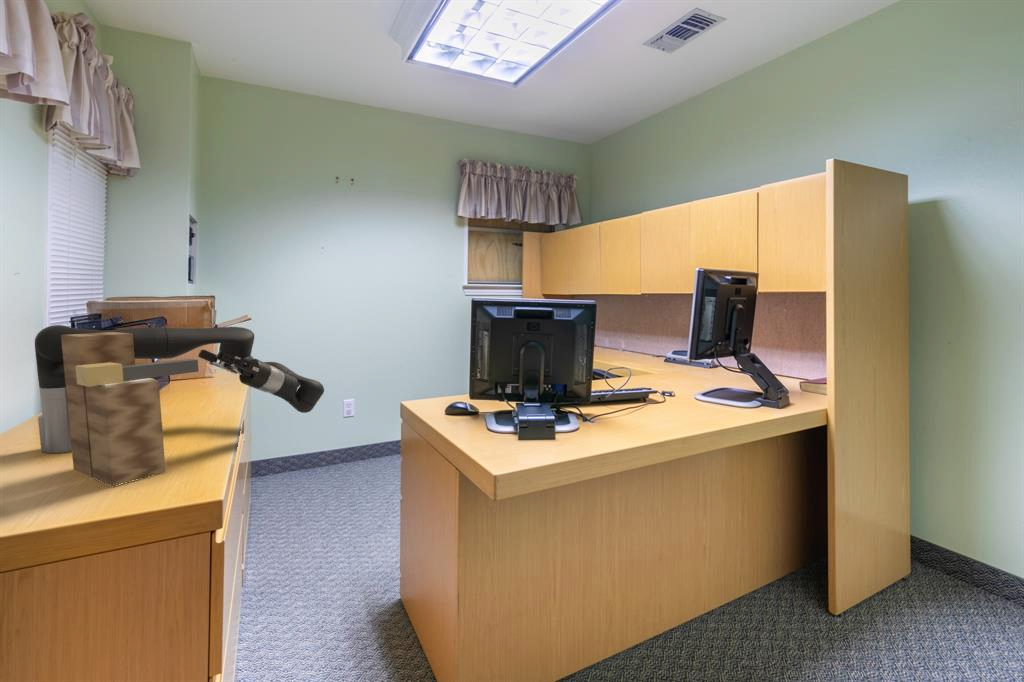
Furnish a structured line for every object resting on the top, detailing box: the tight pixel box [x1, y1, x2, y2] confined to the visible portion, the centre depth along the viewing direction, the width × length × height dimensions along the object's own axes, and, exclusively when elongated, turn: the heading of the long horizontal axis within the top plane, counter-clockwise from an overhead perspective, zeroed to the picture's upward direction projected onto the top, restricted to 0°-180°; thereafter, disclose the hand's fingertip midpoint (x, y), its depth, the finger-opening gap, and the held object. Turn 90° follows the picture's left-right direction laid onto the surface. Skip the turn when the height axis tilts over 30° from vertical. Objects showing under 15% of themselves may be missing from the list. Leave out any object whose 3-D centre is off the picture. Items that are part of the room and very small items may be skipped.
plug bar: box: [76, 358, 200, 387], centre depth 111 cm, size 22×6×4 cm, turn 150°
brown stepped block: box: [61, 332, 166, 487], centre depth 111 cm, size 10×21×32 cm, turn 60°
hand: (209, 353), depth 123 cm, fingers open, 8 cm apart
